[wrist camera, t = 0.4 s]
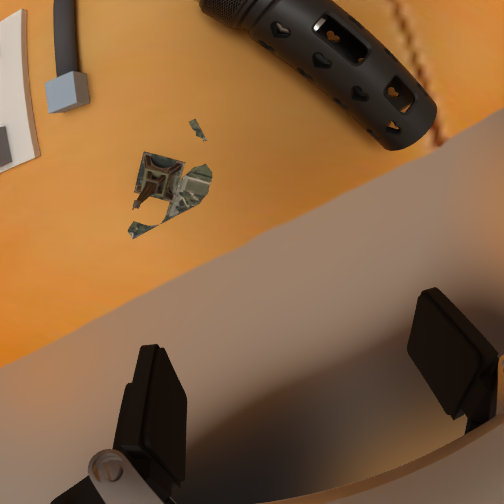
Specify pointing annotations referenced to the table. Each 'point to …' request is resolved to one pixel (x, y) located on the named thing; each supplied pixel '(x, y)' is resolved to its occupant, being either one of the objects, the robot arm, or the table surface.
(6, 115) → the cable board
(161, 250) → the table surface
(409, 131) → the muzzle brake
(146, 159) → the eiffel tower figurine
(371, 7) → the table surface
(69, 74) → the cable
